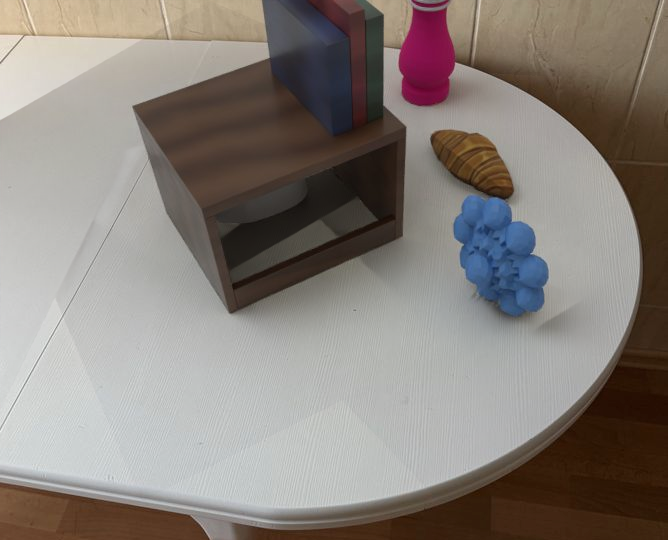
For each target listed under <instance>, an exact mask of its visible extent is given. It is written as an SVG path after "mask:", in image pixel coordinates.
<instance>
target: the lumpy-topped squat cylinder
mask: <svg viewBox="0 0 668 540" xmlns="http://www.w3.org/2000/svg"><path fill="white" fill-rule="evenodd" d="M308 191H309V190H308V181H307V178H304V179H302V180H299V181H297V182H294V183H292V184H289V185H287V186H285V187H282V188H280V189H277V190H275V191H272V192H270V193H267V194H265V195H262V196H260V197H257V198H255V199H252V200H250V201H248V202H245V203H243V204H240V205H238V206H235V207H233V208H230V209H228V210H225V211H223V212H220V213H218V214H215V215H214V216H215V220H216V223H219V224H251V223H255V222H258V221H261V220H265V219H268V218H271V217H273V216H275V215H279V214H281V213H283V212H284V211H287V210H289V209H292V208H294V207H296V206H298V204H300V203H301V202H302V201H303V200H304V199H305V198H306V196H307V194H308Z"/></svg>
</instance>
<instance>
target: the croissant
mask: <svg viewBox="0 0 668 540" xmlns="http://www.w3.org/2000/svg"><path fill="white" fill-rule="evenodd" d="M429 141H430V145H431V147H432V150H433V153H434V154H435V156H436V158H437V159H438V161H439V162H440V163H441V164H442V165H443V166H444V168H445V169H446V170H447V171H448V172H449V173H450V174H451V175H452V176H453V178H455V179H456V180H458V181H460V182H462V183H463V184H465V185H466V186H467V185H468V186H470V187H472V188H474V189H475V190H476V191H477V192H479V193H482V194H484V195H487V196H489V197H490V198H493V197H497V198H500V199H502V200H504V201H505V200H509V199H510V198H511V197H512V196H513V194H514V192H515V186H514V183H513V182H514V181H513V179H512V176H511V173H510V172H509V169H508V167H507V165H506V163H505V162H504V159H503V158H502V157H501V156H500V154H499V151H498V149H497V146H496V145H495V144H494V143H493V142H492V141H491V140H490V139H489V138H488V137H486V136H485V135H483V134H481V133H478V132H470V133H469V132H466V131H463V130H458V129H440V130H434V132H432V133H431V135H430V137H429Z"/></svg>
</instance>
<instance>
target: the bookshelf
mask: <svg viewBox="0 0 668 540" xmlns="http://www.w3.org/2000/svg"><path fill="white" fill-rule="evenodd" d="M261 4H262V5H261V6H262V11H263V19H264V27H265V34H266V41H267V49H268V56H269V57H268V58H265V59H262V60H259V61H256V62H254V63H250V64H247V65H245V66H242V67H239V68H237V69H233V70H231V71H228V72H225V73H221V74H219V75H217V76H213V77H210V78H208V79H205V80H202V81H198V82H197V83H193V84H190V85H188V86H185V87H182V88H179V89H177V90H174V91H171V92H167V93H165V94H162V95H160V96H156V97H154V98H151V99H147V100H145V101H142V102H140V103H136V104H134V105H132V106H131V108H132V112H133V114H134V116H135V120H136V123H137V126H138V129H139V132H140V136H141V139H142V141H143V145H144V148H145V151H146V155H147V157H148V160H149V164H150V166H151V169H152V170H151V171H152V173H153V176H154V179H155V182H156V185H157V188H158V191H159V195H160V197H161V201H162V204H163V206H164V207H163V208H164V210H165V212H166V215H167V216H168V218H169V220H170V221H171V223H172V224H173V226H174V228H175V229H176V230H177V232H178V234H179V235H180V237H181V239H182V241H183V242H184V243H185V245H186V247H187V249H188V250H189V251H190V253H191V255H192V256H193V257H194V259H195V261H196V262H197V264H198V266H199V267H200V269H201V270H202V272H203V274H204V275H205V277H206V279H207V280H208V282H209V284H210V285H211V287H212V289H213V290H214V291H215V293H216V295H217V296H218V298H219V299H220V301H221V302H222V304H223V306H224V307H225V309H226V311H227V312H228V314H232V313H235V312H237V311H238V310H241V309H243V308H246V307H248V306H250V305H252V304H255V303H257V302H259V301H262V300H264V299H266V298H269V297H271V296H272V295H275V294H277V293H279V292H281V291H284V290H286V289H289V288H291V287H293V286H295V285H297V284H299V283H302V282H304V281H306V280H308V279H311V278H313V277H315V276H317V275H319V274H321V273H324V272H326V271H329V270H330V269H332V268H336V267H337V266H339V265H342V264H344V263H346V262H348V261H351V260H353V259H355V258H357V257H360V256H361V255H364V254H366V253H369V252H371V251H373V250H375V249H377V248H379V247H380V248H381V247H382V246H384V245H387V244H388V243H391V242H393V241H395V240H398V239H400V238H402V237H403V235H404V213H405V211H404V208H405V184H406V183H405V182H406V156H407V155H406V153H407V131H408V129H407V128H408V127H407V126H406V125H405V124H404V123H403V121H402V120H400V119H399V118H398V117H397V116H396V115H395V114H394V113H393V112H392V111H390V110H389V108H388V107H386V106H385V105H384V91H385V89H384V87H385V86H384V84H385V83H384V81H385V79H384V78H385V77H384V75H385V73H384V72H385V71H384V70H385V69H384V68H385V65H384V63H385V58H384V57H385V56H384V55H385V47H384V46H385V14H384V13H383V12H382V11H380V10H379V9H378V8H377V7H376V6H374V5H373V4H372V3H371V2H369V0H261ZM329 169H331V170H332V171H333V172H334V173H335V175H337V177H338V178H339V179H340V180H341V181H342V182H343V183H344V185H346V187H347V188H348V189H349V190H350V191H351V192H352V193H353V194H354V195H355V197H356V198H357V199H358V201H360V202H361V203H362V205H364V207H365V208H366V209H367V210H368V211H369V212H370V214H371V215H372V216H374V218H375V219H376V220H375V221H373V222H369V223H368V224H365V225H364V226H361V227H358V228H356V229H354V230H352V231H350V232H348V233H345V234H343V235H340V236H338V237H336V238H333V239H331V240H329V241H326V242H323V243H322V244H320V245H317V246H315V247H312V248H310V249H308V250H306V251H303V252H301V253H299V254H297V255H294V256H292V257H290V258H288V259H285V260H283V261H281V262H278V263H276V264H274V265H272V266H269V267H267V268H265V269H262V270H260V271H257V272H255V273H253V274H251V275H249V276H246V277H244V278H242V279H240V280H237V281H235V282H233V283H232V280H231V275H230V272H229V267H228V263H227V260H226V256H225V251H224V247H223V244H222V240H221V236H220V231H219V227H218V224H217V222H216V220H215V216H214V215H215V214H218V213H220V212H223V211H225V210H228V209H230V208H233V207H235V206H238V205H240V204H243V203H245V202H248V201H250V200H252V199H255V198H257V197H260V196H262V195H265V194H267V193H270V192H272V191H275V190H277V189H280V188H282V187H285V186H287V185H289V184H292V183H294V182H297V181H299V180H302V179H304V178H306V179H307V178H310V177H311V176H314V175H316V174H319V173H322V172H324V171H326V170H329Z"/></svg>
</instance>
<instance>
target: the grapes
mask: <svg viewBox="0 0 668 540" xmlns="http://www.w3.org/2000/svg"><path fill="white" fill-rule="evenodd" d="M452 225H453V227H452V228H453V230H452V231H453V232H452V233H453V237H454V239H455V240H456V241H458V242H459V243H460V244H462V246H461V248H460V251H459V263H460V268H462V269H464V273H465V278H466V280H467V281H468V282H469V283H471V284H473V285H475V286H476V288H477V293H478V295H479V296H481V297H482V298H483V299H485V300H488V301H490V302H497V301H498V305H499V309H500V310H501V311H502V312H503V313H505V314H507V315H508V316H509V315H510V316H512V317H519V316H521V315H523V314H524V313H525V312H528V313H538V311H540V310H541V309H542V308H543V306H544V304H545V291H544V286H546V285H547V282H548V280H549V278H550V277H549V275H550V273H549V272H550V271H549V270H550V269H549V266H548V263H547V262H546V260H545V259H543V258H542V257H541V256H539V255H537V254H534V250H535V248H536V244H537V240H536V239H537V236H536V234H535V230H534V229H533V228H532V227H531V225H529V224H528V223H526V222H523V221H522V220H516V221H515V220H513V211H512V208H511V205H509V203H507V202H506V201H505V200H502V199H500V198H497V197H489V198H488V199H485V198H484V197H482V196H479V195H477V194H469V195H467V196H466V197H465V198H464V199H463V201H462V204H461V213H459V214H458V215H457V216H456V217H455V219H454V221H453V223H452Z"/></svg>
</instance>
